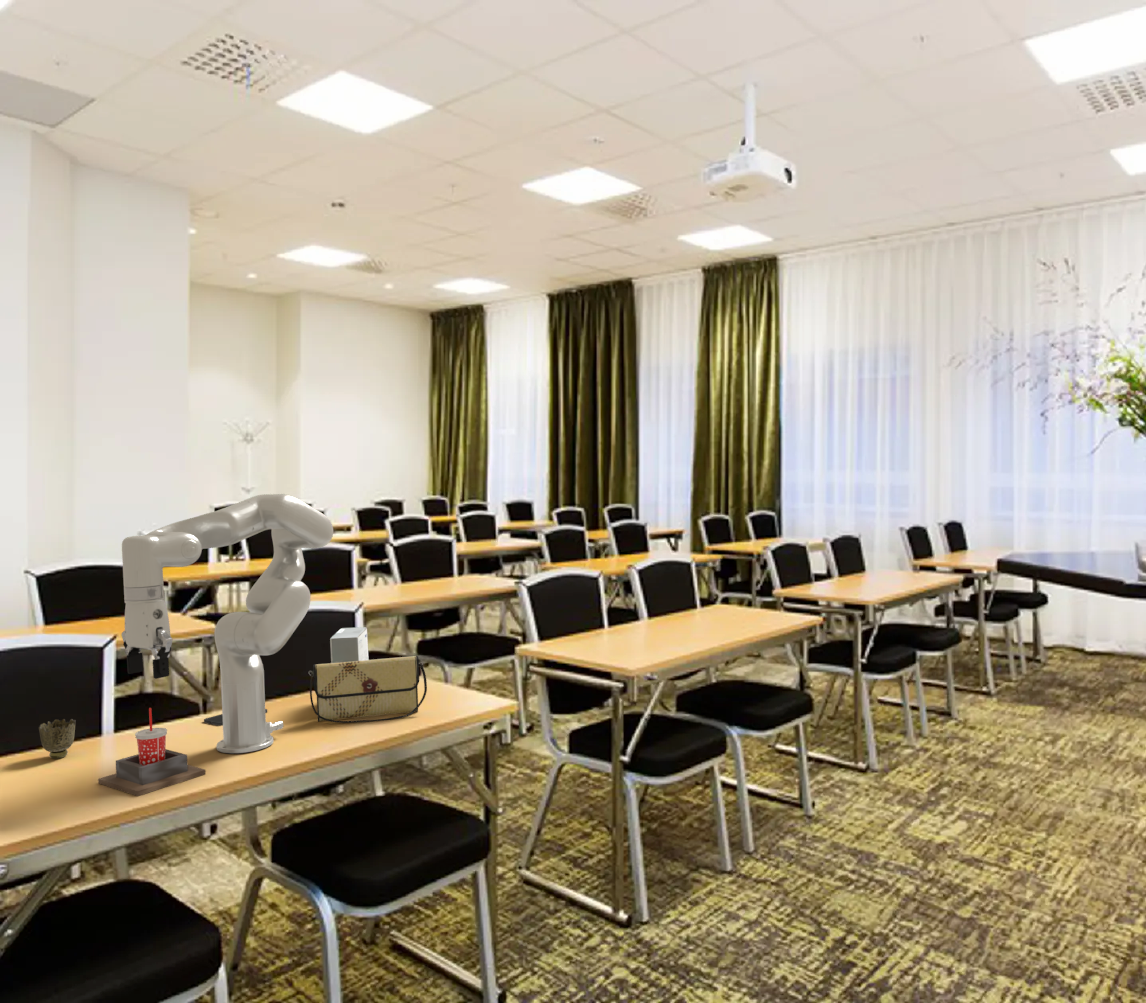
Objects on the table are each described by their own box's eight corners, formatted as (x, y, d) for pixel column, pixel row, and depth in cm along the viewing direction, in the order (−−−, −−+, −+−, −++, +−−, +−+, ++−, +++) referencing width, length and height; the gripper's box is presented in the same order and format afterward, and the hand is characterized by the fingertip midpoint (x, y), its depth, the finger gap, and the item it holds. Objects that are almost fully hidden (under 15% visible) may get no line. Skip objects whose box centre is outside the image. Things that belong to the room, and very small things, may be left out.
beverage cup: (160, 767, 194) (157, 703, 193) (174, 772, 190) (171, 707, 189) (131, 775, 189) (128, 709, 189) (145, 780, 185) (142, 713, 185)
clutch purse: (310, 728, 225) (308, 669, 224) (310, 721, 231) (308, 663, 231) (429, 716, 233) (427, 658, 232) (426, 709, 240) (424, 654, 239)
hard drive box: (343, 697, 256) (341, 627, 255) (370, 695, 256) (368, 626, 256) (332, 711, 240) (329, 637, 240) (361, 710, 241) (358, 636, 240)
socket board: (165, 763, 200) (164, 743, 200) (205, 774, 191) (204, 753, 191) (98, 783, 187) (97, 762, 187) (137, 796, 179) (136, 774, 179)
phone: (269, 709, 242) (220, 723, 229) (269, 713, 242) (220, 727, 229) (250, 706, 246) (201, 719, 233) (250, 710, 246) (201, 723, 233)
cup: (32, 762, 204) (30, 727, 203) (55, 751, 211) (53, 718, 211) (62, 762, 203) (60, 727, 202) (84, 752, 210) (82, 718, 210)
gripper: (184, 594, 186) (188, 675, 187) (138, 590, 196) (142, 667, 197) (150, 599, 180) (154, 683, 181) (104, 594, 190) (108, 674, 191)
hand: (148, 674), depth 189 cm, fingers open, 9 cm apart
